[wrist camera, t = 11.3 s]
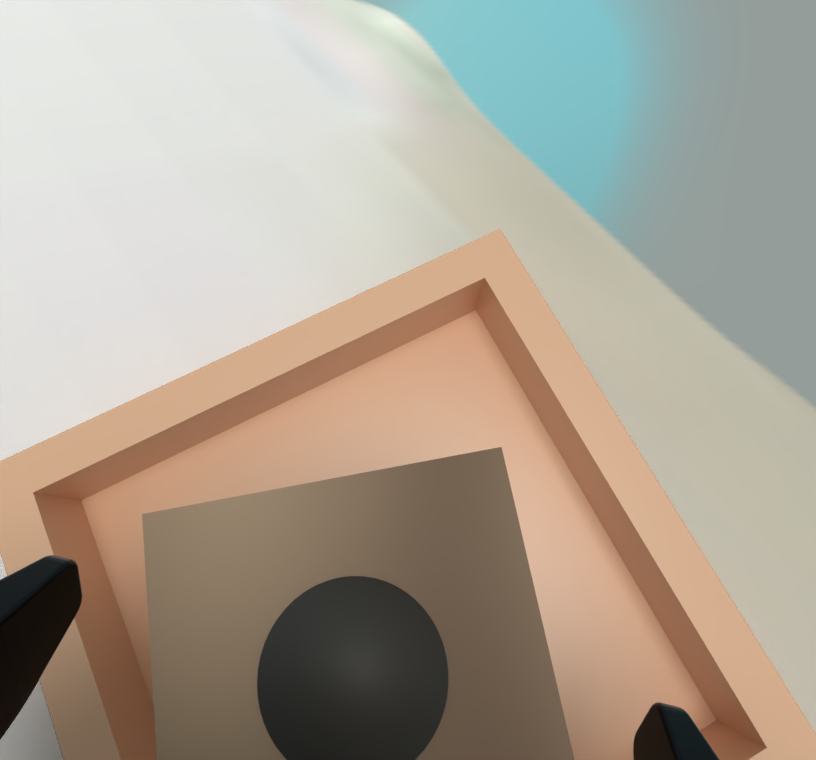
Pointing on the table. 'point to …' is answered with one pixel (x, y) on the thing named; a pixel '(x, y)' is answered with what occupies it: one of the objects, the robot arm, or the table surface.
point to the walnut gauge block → (352, 622)
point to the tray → (395, 446)
